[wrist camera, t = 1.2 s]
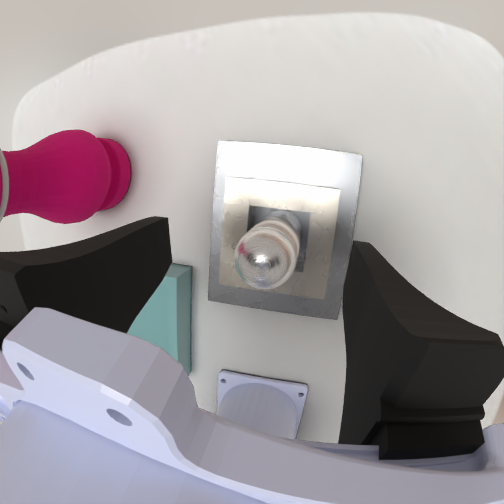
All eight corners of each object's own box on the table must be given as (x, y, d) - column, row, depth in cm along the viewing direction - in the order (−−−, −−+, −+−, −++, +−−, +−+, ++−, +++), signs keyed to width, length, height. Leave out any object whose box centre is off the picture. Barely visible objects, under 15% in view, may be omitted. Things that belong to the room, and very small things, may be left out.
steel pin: (299, 255, 22) (290, 303, 14) (257, 250, 22) (224, 293, 14) (304, 213, 21) (298, 237, 13) (261, 208, 22) (229, 228, 14)
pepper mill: (80, 131, 24) (-121, 132, 5) (143, 136, 23) (-104, 123, 4) (71, 207, 26) (-119, 261, 7) (130, 222, 25) (-94, 307, 6)
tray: (191, 371, 28) (179, 389, 25) (101, 344, 29) (85, 358, 26) (191, 266, 25) (176, 278, 22) (91, 249, 27) (71, 257, 24)
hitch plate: (336, 314, 23) (339, 335, 20) (212, 295, 25) (196, 313, 22) (360, 155, 20) (368, 152, 17) (222, 141, 22) (206, 137, 19)
